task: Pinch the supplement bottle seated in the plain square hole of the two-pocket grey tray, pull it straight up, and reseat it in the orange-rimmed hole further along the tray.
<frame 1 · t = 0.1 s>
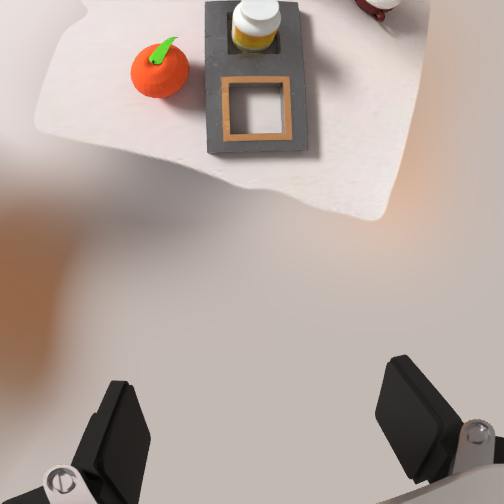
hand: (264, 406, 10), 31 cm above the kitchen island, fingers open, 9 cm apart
clementine: (167, 75, 34), on the kitchen island
two-pocket grey tray: (253, 72, 35), on the kitchen island
cocoa: (367, 2, 32), on the kitchen island
supplement bottle: (252, 38, 34), resting in two-pocket grey tray
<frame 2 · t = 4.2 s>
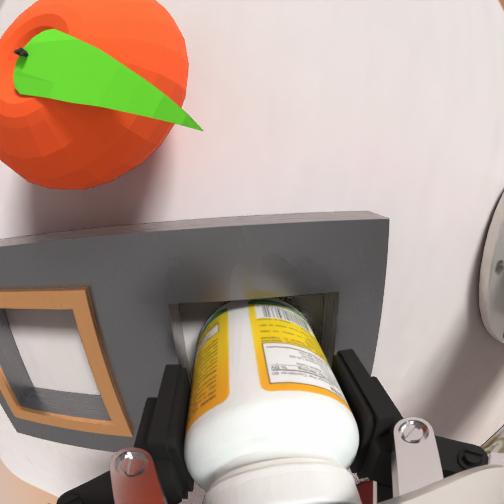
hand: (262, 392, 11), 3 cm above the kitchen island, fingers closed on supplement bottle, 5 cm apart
clementine: (128, 106, 11), on the kitchen island
two-pocket grey tray: (145, 349, 14), on the kitchen island
coffee box: (478, 455, 22), on the kitchen island
cocoa: (363, 489, 20), on the kitchen island
supplement bottle: (253, 342, 14), resting in two-pocket grey tray, touching gripper
when the fingers open (4 cm above the kitchen island, at t = 10.3 s): supplement bottle stays where it is, resting in two-pocket grey tray.
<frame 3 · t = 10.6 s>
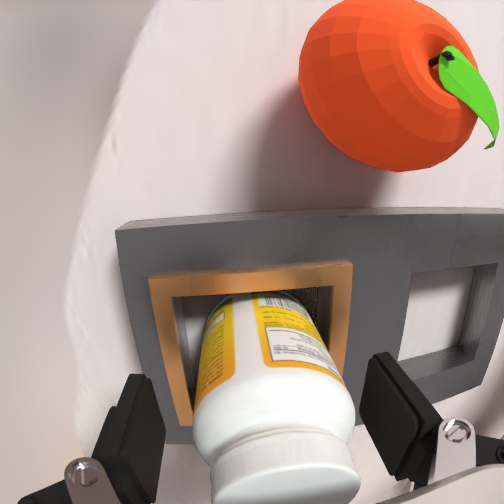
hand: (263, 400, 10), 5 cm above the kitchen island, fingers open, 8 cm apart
clementine: (363, 104, 13), on the kitchen island
two-pocket grey tray: (352, 323, 16), on the kitchen island
supplement bottle: (256, 331, 15), resting in two-pocket grey tray
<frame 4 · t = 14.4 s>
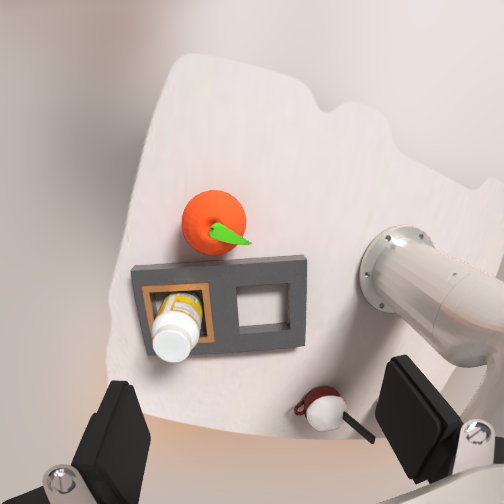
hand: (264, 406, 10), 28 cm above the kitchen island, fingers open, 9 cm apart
clementine: (219, 219, 37), on the kitchen island
two-pocket grey tray: (221, 305, 40), on the kitchen island
cocoa: (320, 394, 45), on the kitchen island
supplement bottle: (182, 306, 39), resting in two-pocket grey tray
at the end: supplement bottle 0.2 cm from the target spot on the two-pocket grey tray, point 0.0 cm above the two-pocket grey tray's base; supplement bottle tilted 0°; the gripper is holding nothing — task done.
